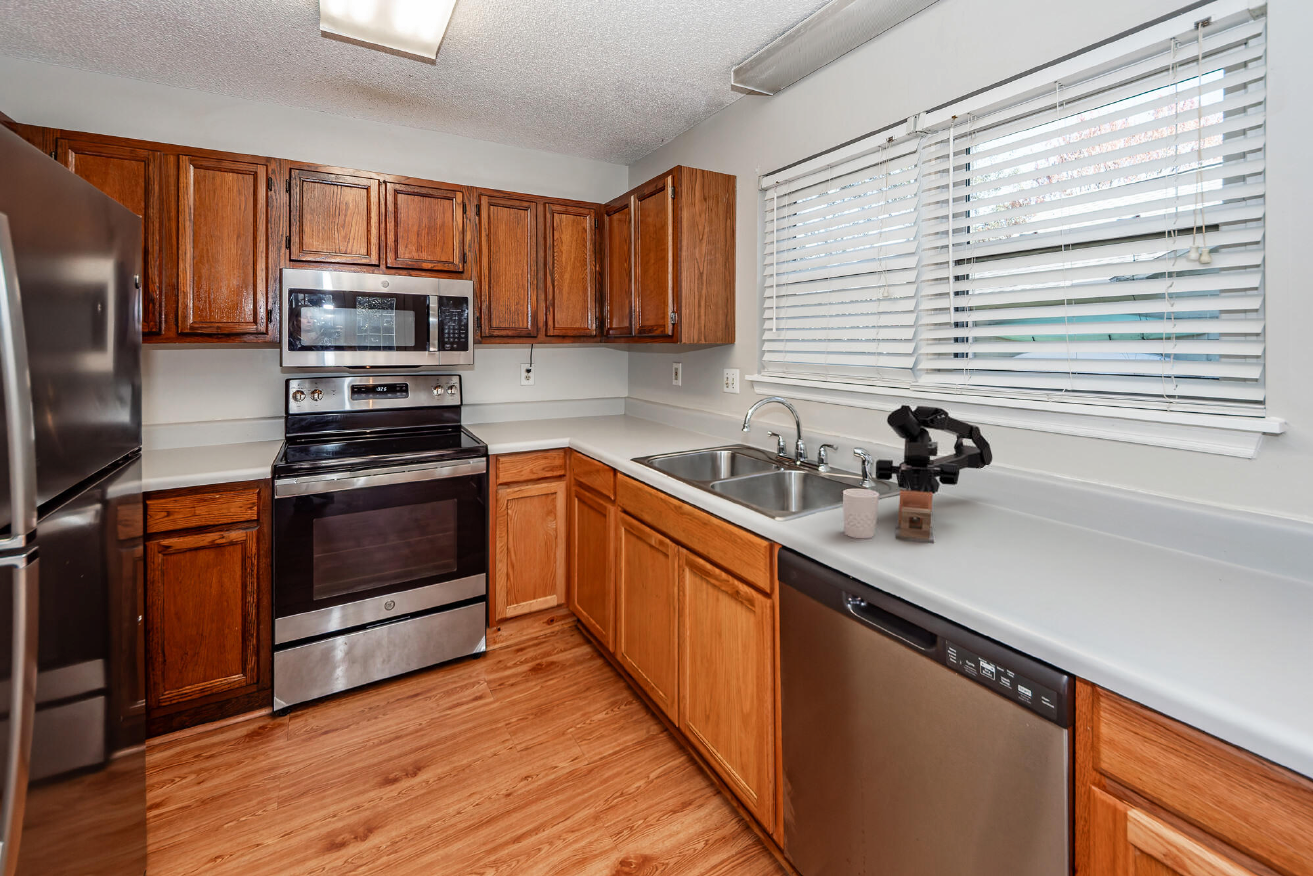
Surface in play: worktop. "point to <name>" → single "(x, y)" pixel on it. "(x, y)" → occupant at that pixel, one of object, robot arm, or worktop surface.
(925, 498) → the copper wooden slab
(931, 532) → the bearing block
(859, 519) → the white cup
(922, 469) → the robot arm
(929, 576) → the worktop surface
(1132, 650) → the worktop surface
